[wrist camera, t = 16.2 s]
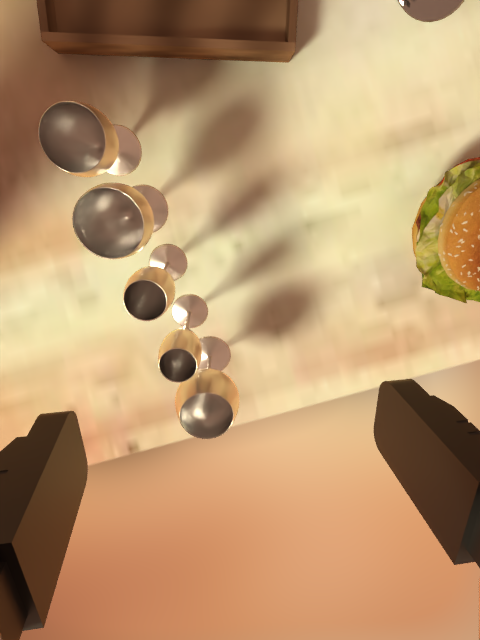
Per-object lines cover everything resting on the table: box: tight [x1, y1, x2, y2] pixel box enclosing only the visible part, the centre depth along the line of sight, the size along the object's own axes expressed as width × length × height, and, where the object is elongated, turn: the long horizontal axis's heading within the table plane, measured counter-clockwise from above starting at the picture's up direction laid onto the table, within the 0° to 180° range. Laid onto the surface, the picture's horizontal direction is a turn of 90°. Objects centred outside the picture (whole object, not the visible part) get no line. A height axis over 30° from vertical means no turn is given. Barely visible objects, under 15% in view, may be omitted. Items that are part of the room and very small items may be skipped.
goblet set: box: [38, 101, 239, 439], centre depth 34 cm, size 28×6×13 cm, turn 21°
